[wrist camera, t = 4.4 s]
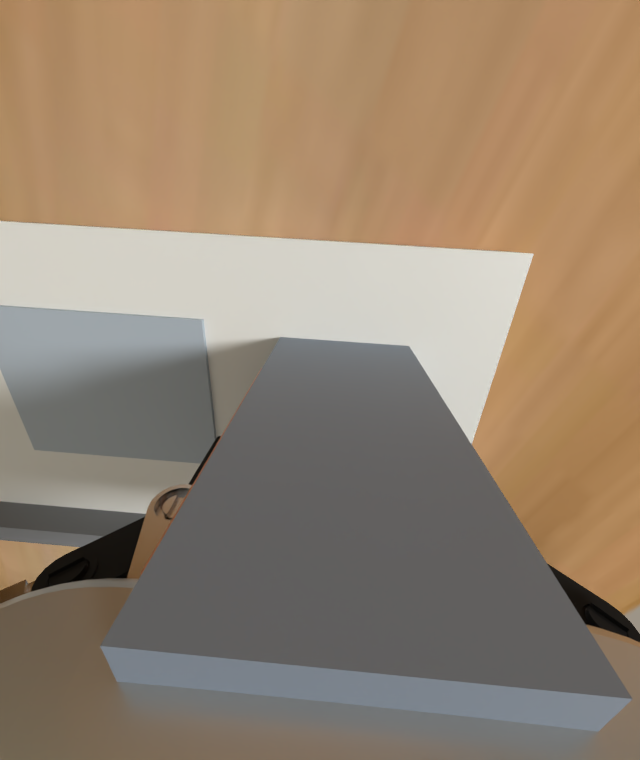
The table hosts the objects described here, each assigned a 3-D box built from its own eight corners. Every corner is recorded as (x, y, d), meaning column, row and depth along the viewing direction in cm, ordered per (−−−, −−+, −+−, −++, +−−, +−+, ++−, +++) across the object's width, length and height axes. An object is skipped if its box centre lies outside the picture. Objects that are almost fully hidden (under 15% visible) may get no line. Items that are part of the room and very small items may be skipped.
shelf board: (511, 251, 12) (563, 256, 9) (428, 531, 18) (443, 583, 15) (-99, 214, 12) (-222, 208, 10) (33, 497, 19) (-19, 541, 16)
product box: (409, 346, 12) (633, 699, 3) (383, 483, 15) (451, 869, 6) (272, 336, 12) (69, 643, 3) (274, 474, 15) (176, 837, 6)
